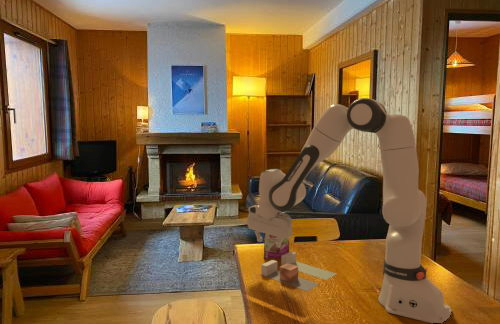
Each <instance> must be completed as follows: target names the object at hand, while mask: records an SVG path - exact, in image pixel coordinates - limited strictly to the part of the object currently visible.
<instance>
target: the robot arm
mask: <svg viewBox="0 0 500 324" xmlns="http://www.w3.org/2000/svg"><path fill="white" fill-rule="evenodd" d="M353 129H354V130H356V131H359V132H363V133H372V134H375V135H376V136H377V138H378V142H379V150H380V158H381V166H382V175H383V183H382V209H381V210H382V211H381V213H382V216H383V219H384V221H385V222H386V223H387V224H389V226H388V230H387V235H386V238H385V256H384V257H385V258H384V260H383V266H382V272H383V274H382V276H383V281H382V286H381V290H380V293H379V296H378V299H377V300H378V302H379V303H380V305H381V306H383V307H384V308H385V311H386V312H387V313H390V314H394V315H397V316H401V317H405V318H409V319H413V320H416V321H421V322H425V323H430V324H433V323H441V324H443V323H442V322H444V321H446V320H447V319H448V318H449V317H450V315H451V316H452V313H451V312H452V308H451V306H449V305H448V304H445V299H444V295H443V292H442V291H441V289H440V288H439V287H438V286H436V285H435V284H434V283H433V282H432V281H431V280H430V279H429V278H428V277H427V272H428V267H425V268H424V266H423V265H422V264H421V261H422V258H421V257H422V247H423V246H422V243H423V236H424V230H425V222H426V215H427V197H426V195H425V193H424V192H423V191H422V190H420V189H419V176H420V175H419V173H420V169H419V161H418V160H419V159H418V154H417V153H418V152H417V146H416V139H415V135H414V134H415V133H414V130H413V127H412V124H411V121H410V120H409V118H408V117H407V116H405V115H402V114H388V112H387V109H386V107H385V106H384V105H383V104H382V103H381V102H379V101H378V100H376V99H372V98H368V97H364V98H363V97H361V98H358V99H356V100H354V101H353V102H352V103H350V105H349V107H347V106H346V105H342V104H340V103H339V104H338V103H337V104H336V103H334V104H332V105H330V106H329V107H328V108H326V110H325V111H324V113H322V115H321V116H320V117H319V119H318V120H317V122H316V123H315V125H314V126H313V128H312V130H311V131H310V133H309V136H308V137H307V140H306V142H305V144H303V146H302V148H301V151H300V152H299V155H298V156H297V158H296V159H295V160H294V162H293V163H292V165H291V166H290V168H289V169H288V170H287V172H286V173H284V172H283V171H282V170H281V169H279V168H271V169H266V170H264V171H262V172H261V173H260V177H259V183H258V194H259V199H258V204H254V205H252V206H248V209H247V210H248V212H249V213H248V214H247V227H248V229H249V230H253V231H254V234H255V237H256V241H257V242H258V243H262V242H264V241H263V240H264V239H263V237H264V236H262V235H261V233H263V234H264V233H266V234H270V235H273V236H277V237H278V240H279V241H278V242H277V243H276V247H277V248H280V247H281V243H282V241H283V240H284V239H288V238H289V239H290V238H292V236H293V224H292V221H293V220H292V217H291V216H290V215H289V214H288V213H285V212H288V211H290V210H291V209H292V208H294V207H295V206H297V205H298V204H299V203H301V202H302V201H303V200H304V199H305V198H306V196H307V187H306V186H305V183H304V181H305V180H306V179H307V177H308V175H309V173H310V172H311V171H312V170H313V169H314V168H315V167H316V166H317V165H318V164H319V165H320V163H321V162H324V161H325V160H326V159H329V158H330V156H332V155H333V154H334V153H335V151H336V150H337V149H338V148H339V147H340V146H341V144H342V142H343V140H344V138H345V137H346V136H347V135H348V134H349V132H350V131H352V130H353ZM450 318H451V317H450ZM450 318H449V319H450ZM449 319H448V320H449ZM448 320H447V321H448ZM447 321H446V322H447ZM444 323H445V322H444Z"/></svg>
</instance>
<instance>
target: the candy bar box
mask: <svg viewBox="0 0 500 324" xmlns="http://www.w3.org/2000/svg"><path fill="white" fill-rule="evenodd" d="M263 234H264V236H263V237H264V239H263V240H264V241H263V243H264V244H263V260H267V259H269V258H277V259H279V258H280V259H281V256H282V255H285V254H287V253H289V252H290V238H288V239H284V240H283V241H282V243H281V247H280V248H277V247H276V243H277V242H278V241H279V240H278V237H277V236H273V235H270V234H266V233H263Z"/></svg>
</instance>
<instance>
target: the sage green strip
mask: <svg viewBox="0 0 500 324" xmlns="http://www.w3.org/2000/svg"><path fill="white" fill-rule="evenodd" d="M280 259H281V261H280V262H281V263H280V266H279V267H281V266H283V265H285V264H287V263H289V264H292V265H295V266H298V273H299V272H300V273H302V274H303V273H304V274H306V275H309V276H312V277H314V278H319V279H321V280H325V281H327V280H330V278H332V277H334V276H336V275H337V273H336V272H332V271H329V270H326V269H322V268H319V267H315V266H312V265H309V264H306V263H303V262H299V261H297V252H293V251H289V253H287V254H285V255H282V256H281V258H280Z"/></svg>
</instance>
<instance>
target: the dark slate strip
mask: <svg viewBox="0 0 500 324" xmlns="http://www.w3.org/2000/svg"><path fill="white" fill-rule="evenodd" d="M260 267H261V268H260V269H261V270H260V271H261V273H260V276H263V277H265V278H268V279H271V280H274V281H277V282H279V283H283V284H286V285H288V286H290V287H293V288H296V289H299V290H301V291H305V292H309V291H311V290H313V289H314V288H316V287H318V286H319V285H320V283H317V282H314V281H311V280H309V279H308V280H307V279H305V278H302V277H299V276H298V279H297V280H295V281H294V282H292V283H288V282H285V281H283V280H280V270H278V261H277V260H274V259H271V260H269V261H266V262H264V263H262V264H261V266H260Z"/></svg>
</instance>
